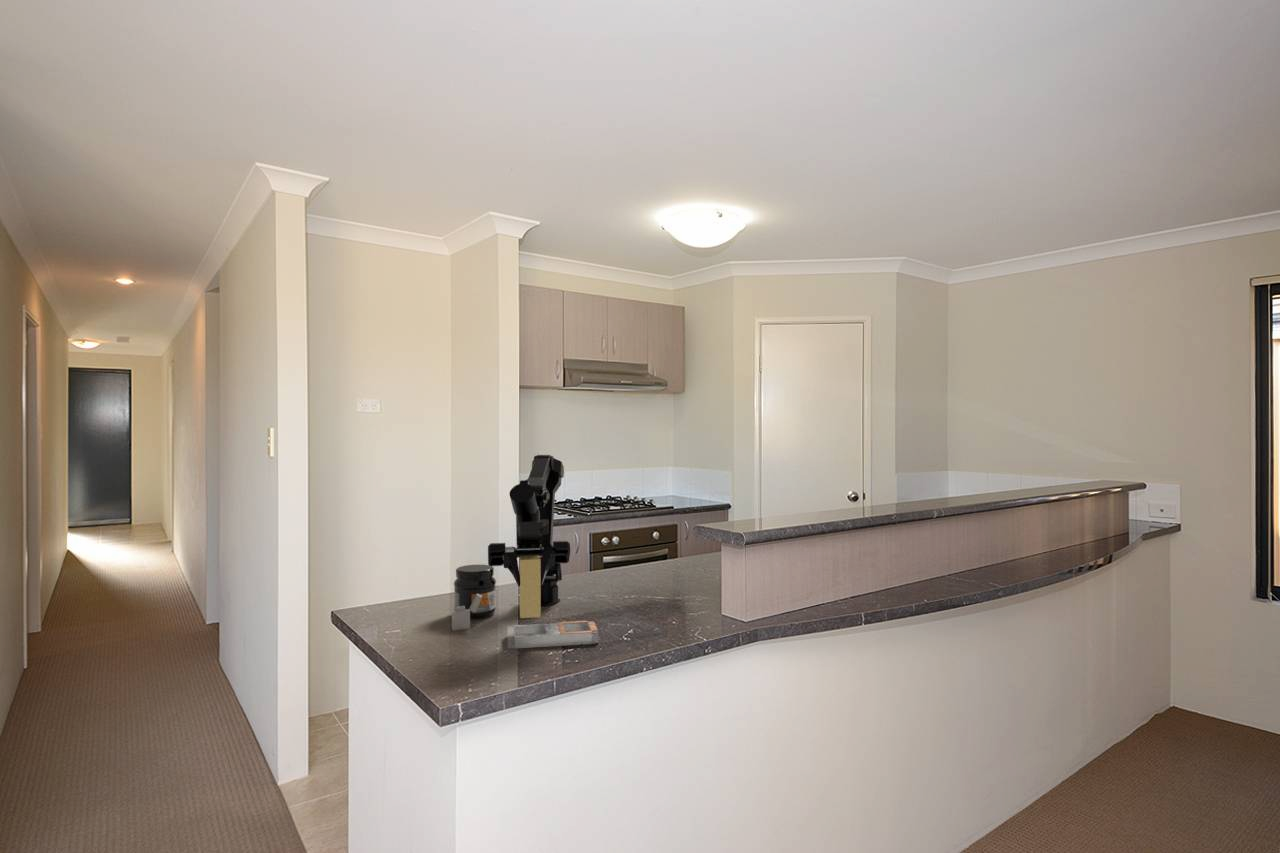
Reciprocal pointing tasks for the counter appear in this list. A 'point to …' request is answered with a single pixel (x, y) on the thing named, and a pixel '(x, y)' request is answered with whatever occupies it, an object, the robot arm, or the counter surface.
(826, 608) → the counter surface
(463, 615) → the lighter
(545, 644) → the divided tray
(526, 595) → the tan block
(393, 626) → the counter surface
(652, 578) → the counter surface
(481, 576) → the supplement container
